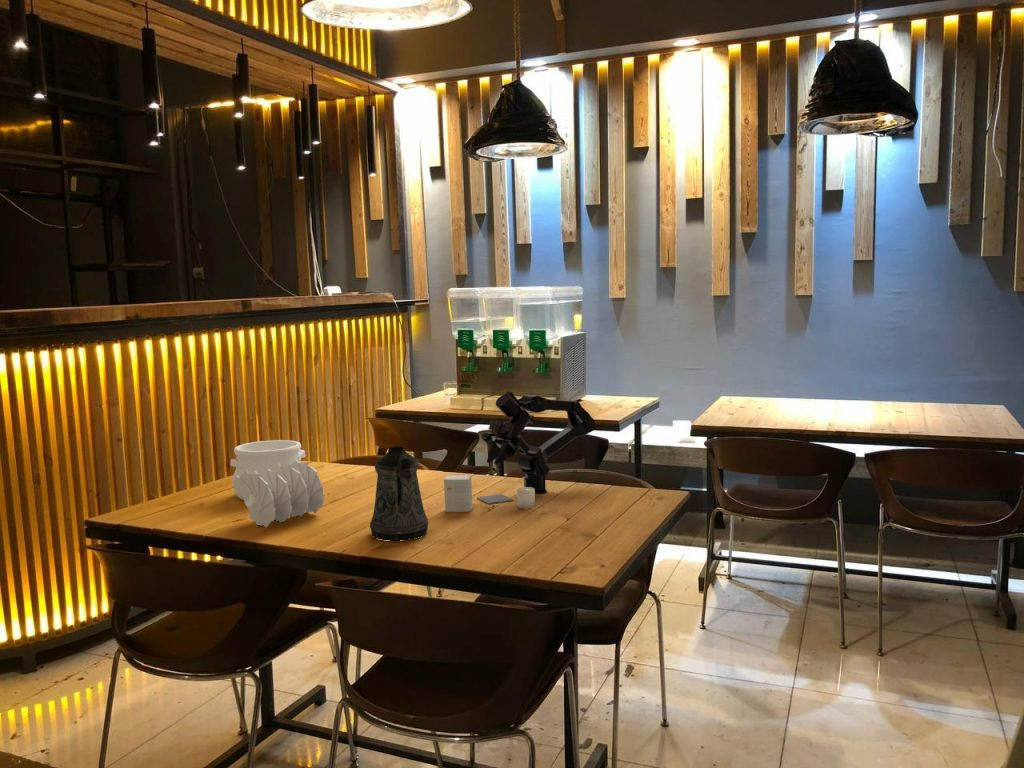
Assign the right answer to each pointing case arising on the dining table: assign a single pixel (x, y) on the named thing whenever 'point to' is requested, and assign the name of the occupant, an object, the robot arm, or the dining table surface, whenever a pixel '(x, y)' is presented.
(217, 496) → the dining table surface
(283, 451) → the pot
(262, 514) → the spiral staircase
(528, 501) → the espresso cup
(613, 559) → the dining table surface
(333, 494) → the dining table surface
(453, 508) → the small box
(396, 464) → the beer stein
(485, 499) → the slate coaster
